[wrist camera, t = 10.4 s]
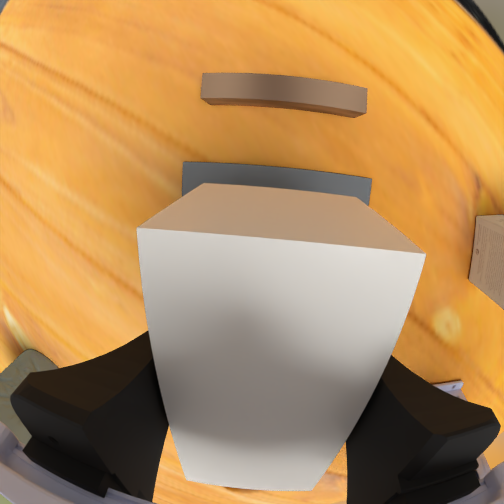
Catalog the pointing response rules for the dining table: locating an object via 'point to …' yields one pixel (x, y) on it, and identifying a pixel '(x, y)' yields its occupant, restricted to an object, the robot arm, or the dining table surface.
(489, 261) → the small box
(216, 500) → the dining table surface
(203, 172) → the thin grey square plate
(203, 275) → the white rectangular block
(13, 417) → the grey green tumbler
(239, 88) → the brown rectangular bar
